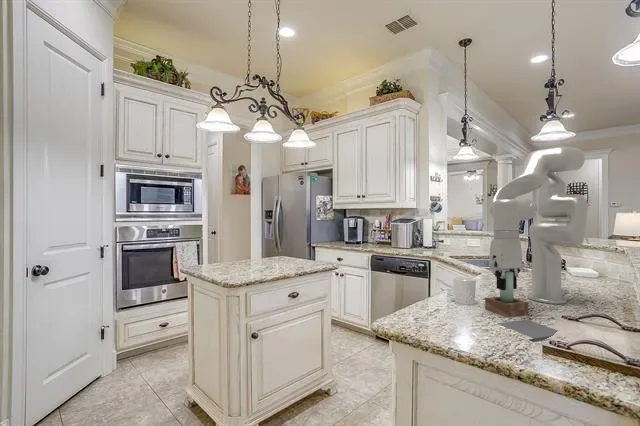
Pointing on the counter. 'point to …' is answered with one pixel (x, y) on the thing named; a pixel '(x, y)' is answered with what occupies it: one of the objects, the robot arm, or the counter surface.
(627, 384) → the counter surface
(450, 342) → the counter surface
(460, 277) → the white cup
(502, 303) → the box
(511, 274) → the pale green cylinder
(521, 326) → the mat
